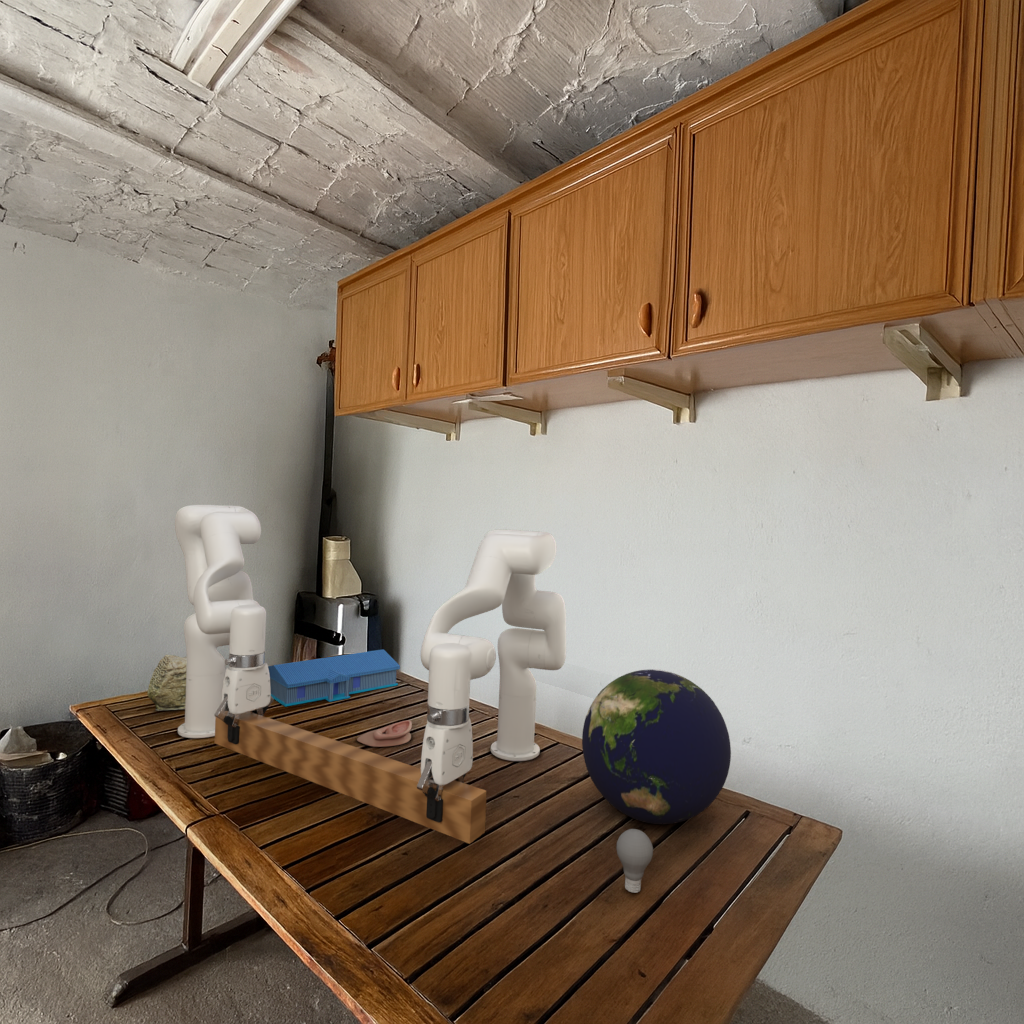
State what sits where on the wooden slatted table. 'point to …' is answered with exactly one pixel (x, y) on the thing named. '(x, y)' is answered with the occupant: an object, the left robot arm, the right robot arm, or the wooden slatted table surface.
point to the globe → (656, 746)
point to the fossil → (169, 683)
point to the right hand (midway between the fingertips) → (443, 812)
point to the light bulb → (634, 857)
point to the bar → (357, 774)
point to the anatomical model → (388, 735)
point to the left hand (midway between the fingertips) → (244, 738)
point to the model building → (332, 677)
